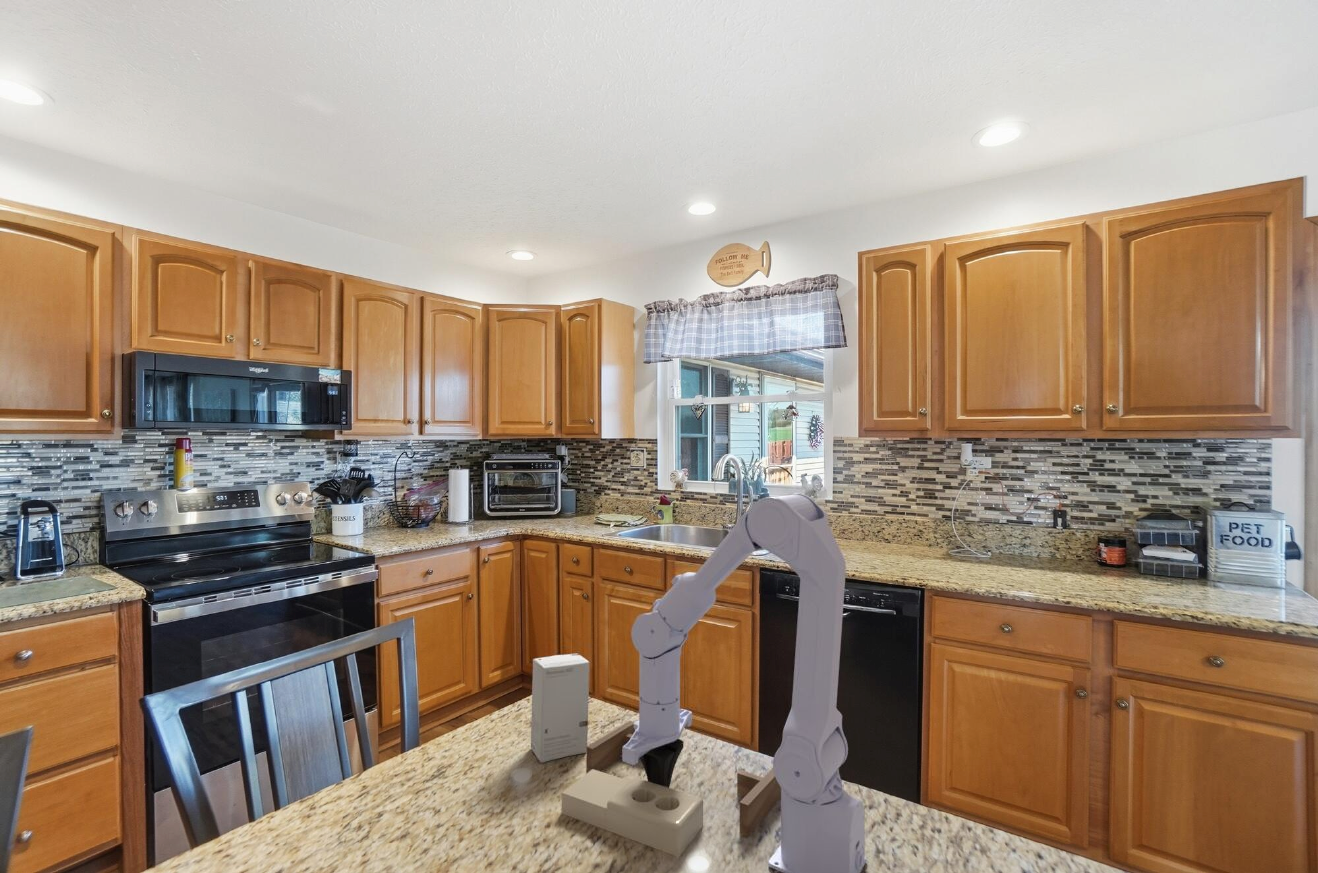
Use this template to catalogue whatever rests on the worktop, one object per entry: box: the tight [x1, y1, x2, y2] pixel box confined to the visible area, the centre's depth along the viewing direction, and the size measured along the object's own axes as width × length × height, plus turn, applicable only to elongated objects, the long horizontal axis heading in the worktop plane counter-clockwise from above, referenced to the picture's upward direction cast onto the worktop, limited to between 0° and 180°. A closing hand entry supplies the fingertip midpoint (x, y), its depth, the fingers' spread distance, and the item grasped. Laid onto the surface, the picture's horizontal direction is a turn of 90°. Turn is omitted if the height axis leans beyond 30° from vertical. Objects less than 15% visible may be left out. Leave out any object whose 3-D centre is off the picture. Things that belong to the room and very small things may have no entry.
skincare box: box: [530, 653, 590, 764], centre depth 101 cm, size 8×6×15 cm
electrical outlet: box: [561, 769, 704, 857], centre depth 82 cm, size 7×4×18 cm
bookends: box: [585, 720, 781, 838], centre depth 91 cm, size 27×11×4 cm, turn 56°
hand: (659, 794), depth 86 cm, fingers closed
